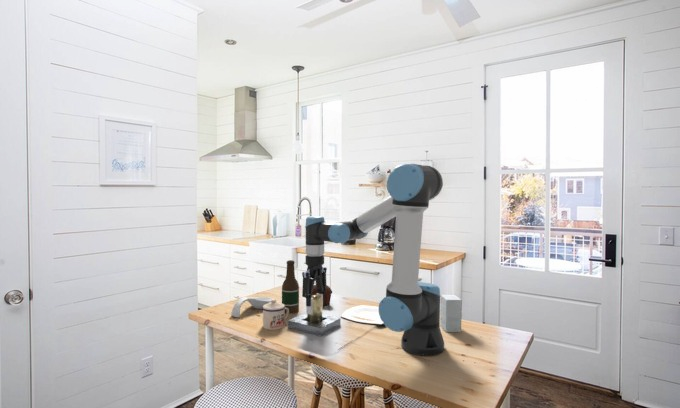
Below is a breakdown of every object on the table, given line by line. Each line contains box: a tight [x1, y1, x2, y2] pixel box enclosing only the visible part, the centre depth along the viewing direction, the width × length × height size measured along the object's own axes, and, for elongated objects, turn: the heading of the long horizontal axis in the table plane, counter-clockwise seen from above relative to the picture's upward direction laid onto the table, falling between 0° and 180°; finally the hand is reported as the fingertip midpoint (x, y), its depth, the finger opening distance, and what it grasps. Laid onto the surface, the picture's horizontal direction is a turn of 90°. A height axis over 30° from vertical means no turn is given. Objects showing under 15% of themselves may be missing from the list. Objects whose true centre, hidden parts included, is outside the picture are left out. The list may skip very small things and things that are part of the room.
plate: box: [340, 304, 384, 326], centre depth 168 cm, size 23×23×2 cm
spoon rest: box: [230, 296, 274, 318], centre depth 178 cm, size 24×12×7 cm, turn 152°
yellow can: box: [307, 295, 323, 322], centre depth 154 cm, size 6×6×10 cm
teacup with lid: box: [261, 298, 290, 331], centre depth 155 cm, size 12×9×12 cm
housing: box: [287, 312, 341, 337], centre depth 154 cm, size 16×14×4 cm
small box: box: [440, 294, 463, 333], centre depth 155 cm, size 8×6×13 cm
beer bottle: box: [281, 259, 300, 315], centre depth 173 cm, size 8×8×24 cm
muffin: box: [312, 284, 333, 308], centre depth 186 cm, size 12×11×10 cm
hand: (314, 311), depth 154 cm, fingers closed on yellow can, 6 cm apart
